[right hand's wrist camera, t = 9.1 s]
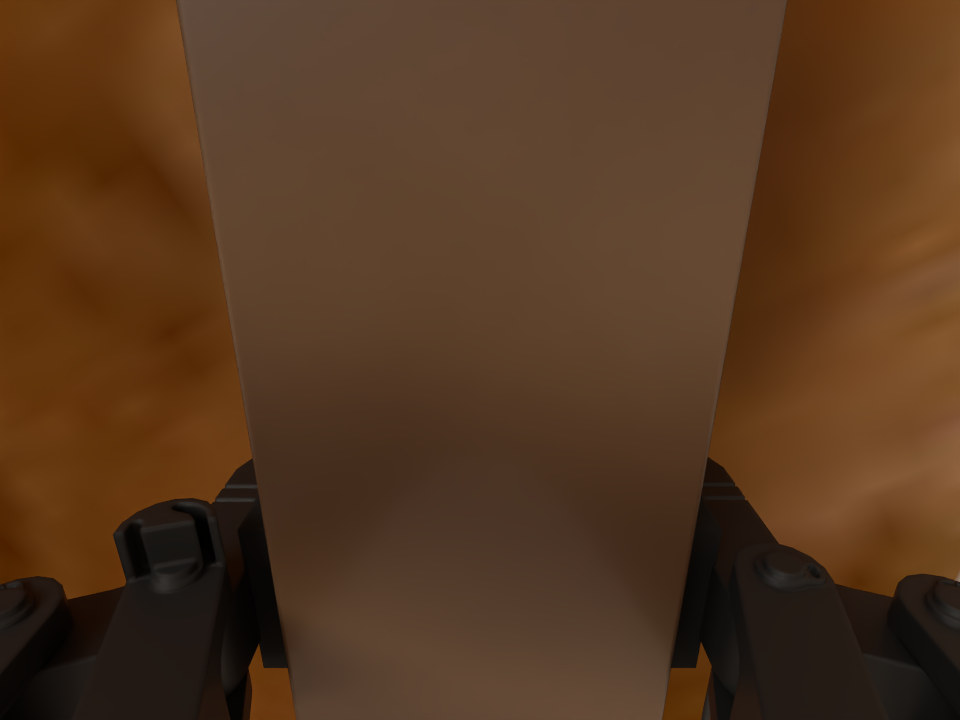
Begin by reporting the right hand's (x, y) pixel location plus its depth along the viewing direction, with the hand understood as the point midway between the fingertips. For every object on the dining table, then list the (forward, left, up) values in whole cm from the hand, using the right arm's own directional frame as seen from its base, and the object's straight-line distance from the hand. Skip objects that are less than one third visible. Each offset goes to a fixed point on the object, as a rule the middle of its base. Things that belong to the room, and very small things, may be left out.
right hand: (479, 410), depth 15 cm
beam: (+15, +16, -1) cm, 22 cm away
